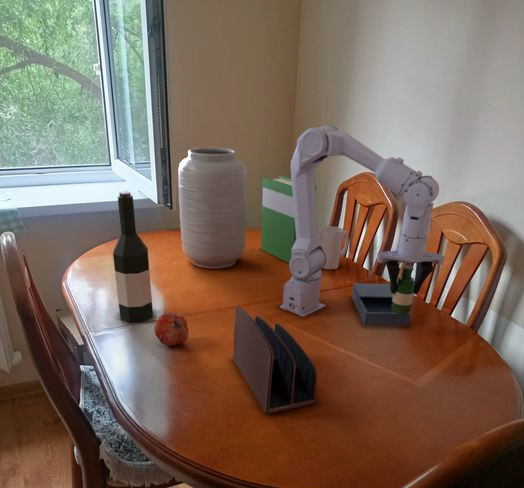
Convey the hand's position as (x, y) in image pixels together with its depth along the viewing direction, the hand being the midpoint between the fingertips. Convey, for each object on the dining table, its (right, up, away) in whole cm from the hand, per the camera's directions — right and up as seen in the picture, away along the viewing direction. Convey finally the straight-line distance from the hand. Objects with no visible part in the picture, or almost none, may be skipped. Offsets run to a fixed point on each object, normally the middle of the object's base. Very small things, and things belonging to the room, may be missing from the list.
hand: (403, 292), depth 114 cm
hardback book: (-25, +17, +52) cm, 60 cm away
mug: (-10, +12, +44) cm, 47 cm away
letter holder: (-31, -19, -16) cm, 40 cm away
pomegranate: (-53, -12, -3) cm, 54 cm away
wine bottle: (-64, -5, +8) cm, 65 cm away
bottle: (0, -4, +2) cm, 4 cm away
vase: (-48, +14, +44) cm, 67 cm away
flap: (-2, +2, +16) cm, 17 cm away
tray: (-3, -4, +14) cm, 15 cm away
